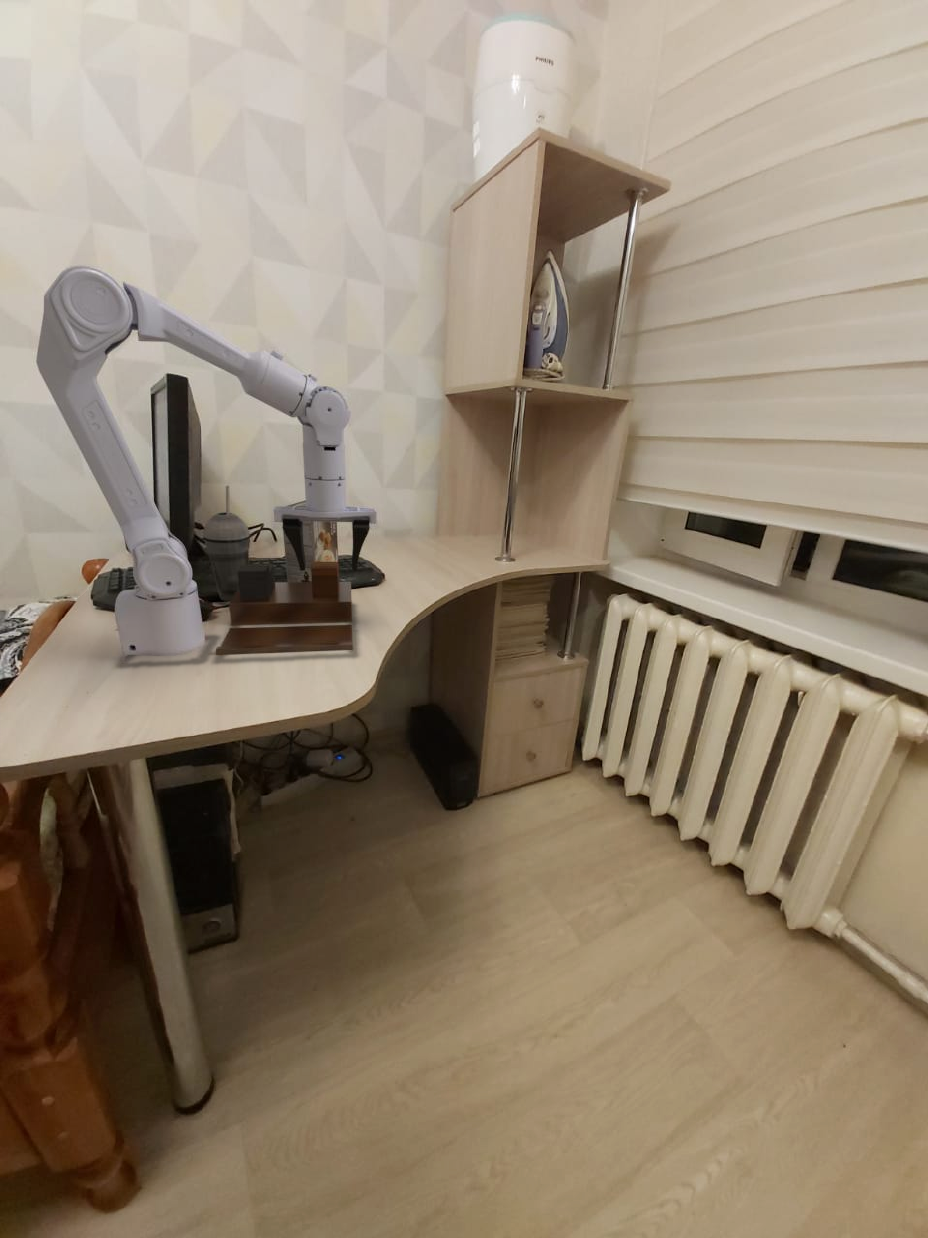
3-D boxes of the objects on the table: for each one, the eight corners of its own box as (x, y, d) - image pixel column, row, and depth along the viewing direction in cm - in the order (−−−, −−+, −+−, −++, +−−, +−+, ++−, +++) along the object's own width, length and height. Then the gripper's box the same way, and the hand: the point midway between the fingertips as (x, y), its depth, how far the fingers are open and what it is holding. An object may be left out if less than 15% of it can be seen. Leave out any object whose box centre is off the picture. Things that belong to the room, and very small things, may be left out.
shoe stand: (217, 661, 67) (212, 631, 66) (244, 607, 85) (241, 582, 83) (353, 655, 71) (352, 627, 69) (351, 605, 89) (351, 581, 87)
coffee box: (310, 578, 101) (306, 498, 95) (340, 582, 100) (337, 502, 94) (286, 592, 93) (280, 506, 87) (318, 597, 92) (313, 510, 86)
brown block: (338, 597, 80) (337, 568, 78) (312, 597, 79) (311, 568, 77) (339, 581, 87) (338, 554, 85) (315, 581, 86) (314, 554, 84)
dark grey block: (268, 600, 77) (265, 571, 75) (240, 601, 76) (237, 571, 74) (275, 584, 84) (272, 556, 82) (249, 584, 83) (246, 556, 81)
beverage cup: (229, 592, 91) (215, 480, 84) (265, 597, 90) (254, 484, 82) (202, 605, 85) (184, 485, 77) (241, 611, 83) (226, 489, 76)
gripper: (374, 476, 77) (375, 561, 82) (275, 472, 73) (282, 561, 78) (377, 482, 70) (377, 574, 76) (268, 478, 67) (276, 574, 72)
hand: (329, 568), depth 77 cm, fingers open, 7 cm apart
